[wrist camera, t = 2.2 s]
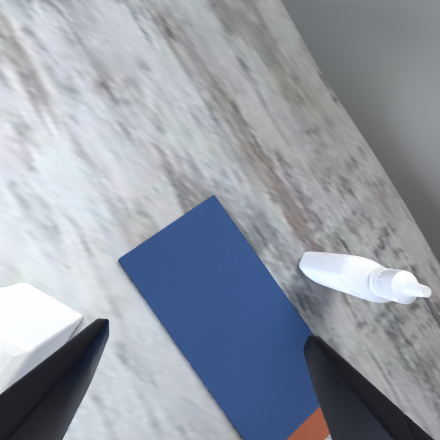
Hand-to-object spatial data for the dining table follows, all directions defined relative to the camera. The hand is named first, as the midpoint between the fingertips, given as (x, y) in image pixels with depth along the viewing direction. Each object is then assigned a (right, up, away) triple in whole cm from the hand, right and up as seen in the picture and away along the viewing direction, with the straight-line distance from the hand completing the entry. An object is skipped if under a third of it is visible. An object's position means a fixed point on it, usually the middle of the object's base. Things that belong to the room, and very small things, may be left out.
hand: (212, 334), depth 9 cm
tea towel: (+3, -8, +14) cm, 17 cm away
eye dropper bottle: (+13, -1, +17) cm, 21 cm away
